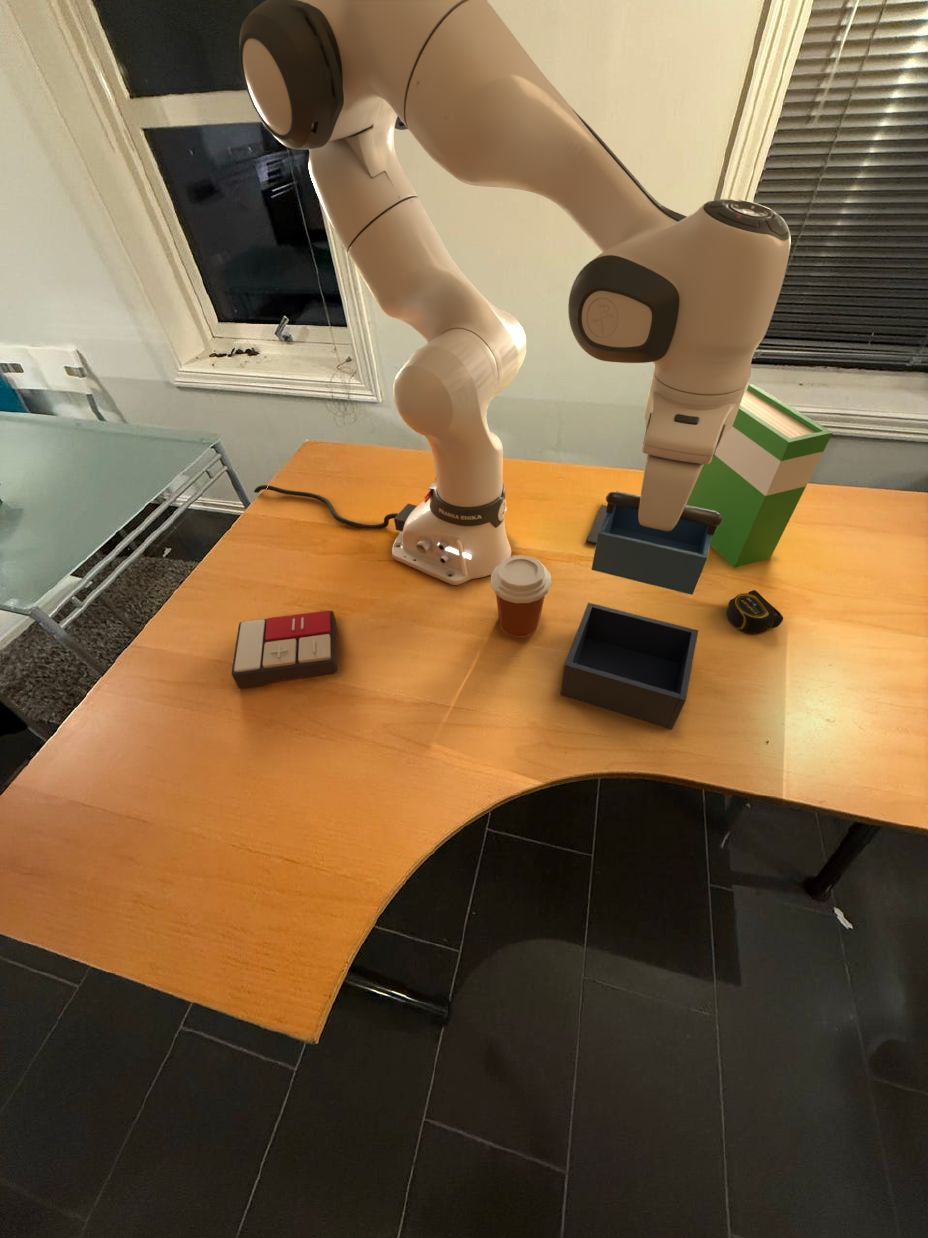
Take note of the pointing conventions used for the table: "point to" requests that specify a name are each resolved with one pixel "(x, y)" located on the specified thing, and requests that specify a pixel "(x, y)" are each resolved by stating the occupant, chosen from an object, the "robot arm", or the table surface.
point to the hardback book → (758, 476)
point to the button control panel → (285, 648)
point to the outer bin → (630, 665)
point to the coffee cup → (520, 593)
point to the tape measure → (752, 613)
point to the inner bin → (654, 545)
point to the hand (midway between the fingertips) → (660, 514)
